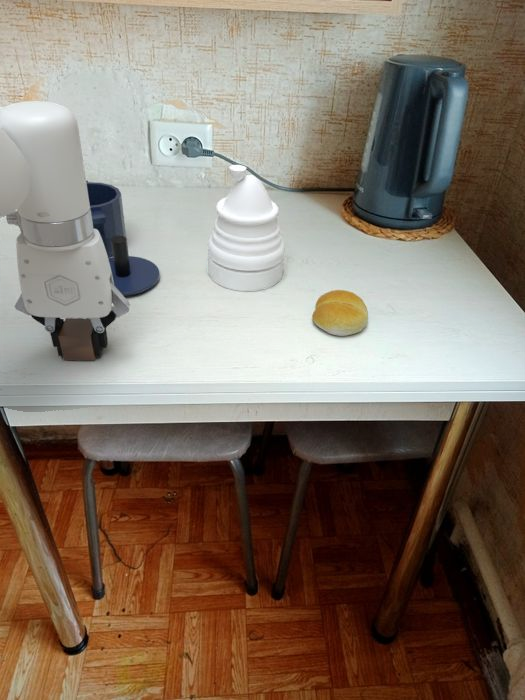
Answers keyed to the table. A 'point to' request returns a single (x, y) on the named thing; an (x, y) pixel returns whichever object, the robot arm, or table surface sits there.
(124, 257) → the lid
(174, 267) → the table surface
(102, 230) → the pot
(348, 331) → the bread roll
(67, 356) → the block
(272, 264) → the honey pot
